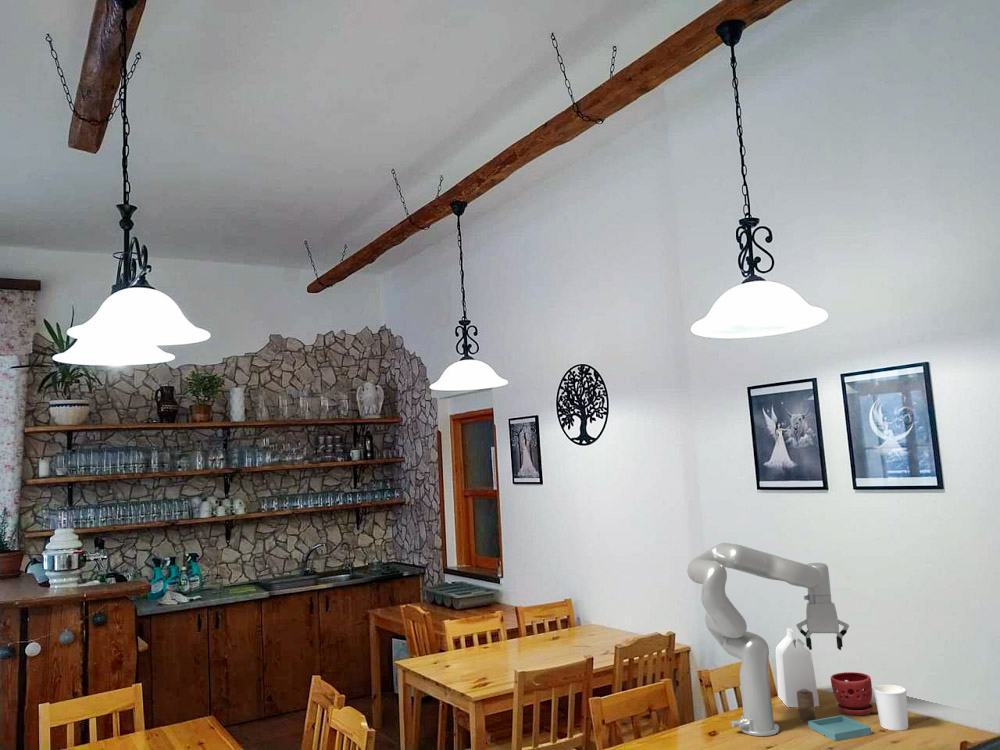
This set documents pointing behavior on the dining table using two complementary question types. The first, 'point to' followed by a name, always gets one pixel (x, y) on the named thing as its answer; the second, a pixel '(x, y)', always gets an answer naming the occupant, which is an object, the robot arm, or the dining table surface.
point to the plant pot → (853, 692)
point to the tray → (839, 727)
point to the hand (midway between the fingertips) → (824, 649)
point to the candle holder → (892, 707)
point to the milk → (794, 670)
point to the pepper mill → (806, 705)
